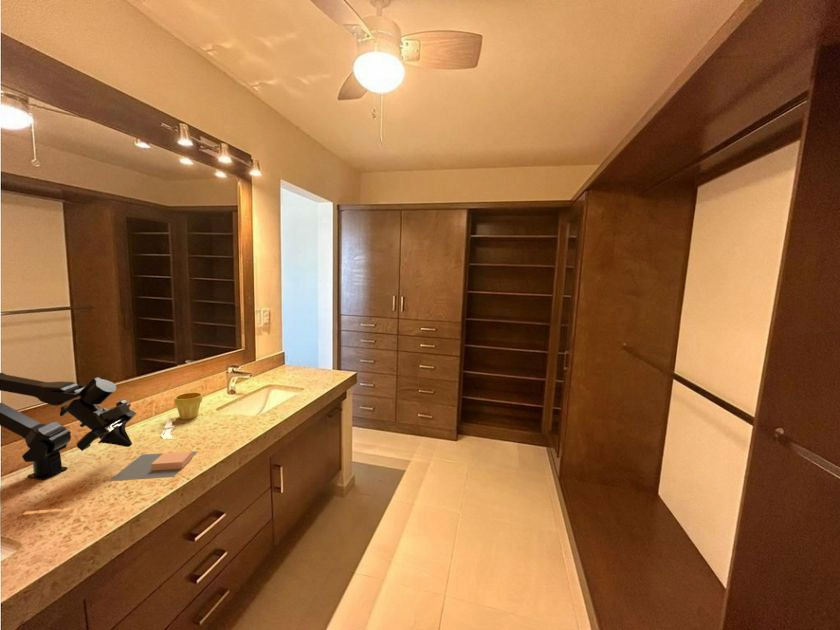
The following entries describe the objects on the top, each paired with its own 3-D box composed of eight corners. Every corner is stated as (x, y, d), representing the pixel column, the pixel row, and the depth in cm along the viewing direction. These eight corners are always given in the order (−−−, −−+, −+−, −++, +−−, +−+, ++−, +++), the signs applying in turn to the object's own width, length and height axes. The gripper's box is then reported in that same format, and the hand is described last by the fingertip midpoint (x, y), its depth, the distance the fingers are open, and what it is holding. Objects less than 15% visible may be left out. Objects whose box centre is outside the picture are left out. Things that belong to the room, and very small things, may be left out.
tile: (151, 463, 109) (182, 462, 111) (163, 453, 116) (192, 451, 118) (151, 470, 109) (182, 468, 111) (163, 459, 116) (192, 457, 118)
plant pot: (207, 412, 159) (206, 392, 158) (193, 421, 149) (192, 399, 148) (185, 412, 159) (184, 391, 158) (169, 421, 148) (168, 399, 147)
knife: (179, 447, 125) (153, 451, 122) (179, 451, 126) (153, 455, 122) (189, 415, 151) (167, 418, 148) (189, 418, 152) (167, 421, 148)
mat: (108, 482, 103) (108, 480, 103) (141, 456, 119) (141, 454, 119) (174, 478, 107) (173, 476, 107) (198, 453, 122) (198, 451, 122)
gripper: (86, 406, 99) (130, 441, 102) (128, 387, 117) (165, 416, 120) (56, 433, 99) (101, 467, 102) (104, 409, 117) (141, 439, 120)
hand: (130, 445), depth 111 cm, fingers closed
